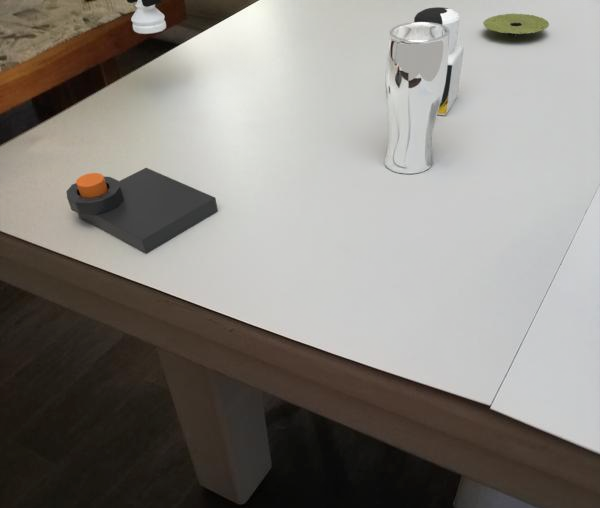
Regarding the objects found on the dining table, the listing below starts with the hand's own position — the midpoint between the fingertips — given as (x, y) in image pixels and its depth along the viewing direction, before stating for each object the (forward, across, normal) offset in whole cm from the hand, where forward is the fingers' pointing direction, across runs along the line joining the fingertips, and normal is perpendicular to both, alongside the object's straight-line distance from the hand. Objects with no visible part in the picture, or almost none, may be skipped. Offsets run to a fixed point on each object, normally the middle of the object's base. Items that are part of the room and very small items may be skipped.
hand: (144, 1), depth 87 cm
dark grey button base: (+13, +28, -26) cm, 40 cm away
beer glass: (+13, +46, +3) cm, 48 cm away
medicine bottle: (+13, +38, +20) cm, 45 cm away
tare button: (+10, +24, -29) cm, 39 cm away
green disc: (+12, +34, +54) cm, 65 cm away
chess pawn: (+4, 0, 0) cm, 4 cm away
